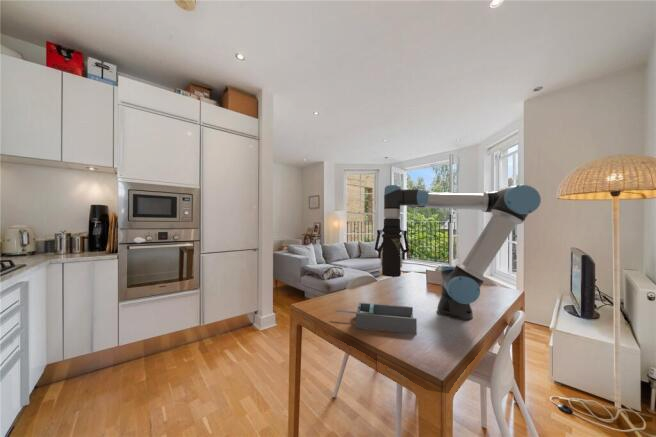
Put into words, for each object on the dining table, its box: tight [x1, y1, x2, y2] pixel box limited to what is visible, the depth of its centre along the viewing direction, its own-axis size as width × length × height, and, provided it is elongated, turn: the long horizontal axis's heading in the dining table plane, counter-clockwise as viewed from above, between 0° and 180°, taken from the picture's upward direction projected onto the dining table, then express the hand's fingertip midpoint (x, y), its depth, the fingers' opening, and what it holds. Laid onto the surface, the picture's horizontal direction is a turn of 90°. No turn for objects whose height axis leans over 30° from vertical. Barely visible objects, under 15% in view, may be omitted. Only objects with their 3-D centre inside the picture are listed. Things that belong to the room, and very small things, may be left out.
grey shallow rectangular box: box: [355, 302, 418, 335], centre depth 103 cm, size 24×14×6 cm, turn 77°
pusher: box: [335, 303, 375, 314], centre depth 106 cm, size 16×11×5 cm
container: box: [381, 233, 402, 278], centre depth 112 cm, size 9×9×20 cm
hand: (391, 266), depth 112 cm, fingers closed on container, 8 cm apart
